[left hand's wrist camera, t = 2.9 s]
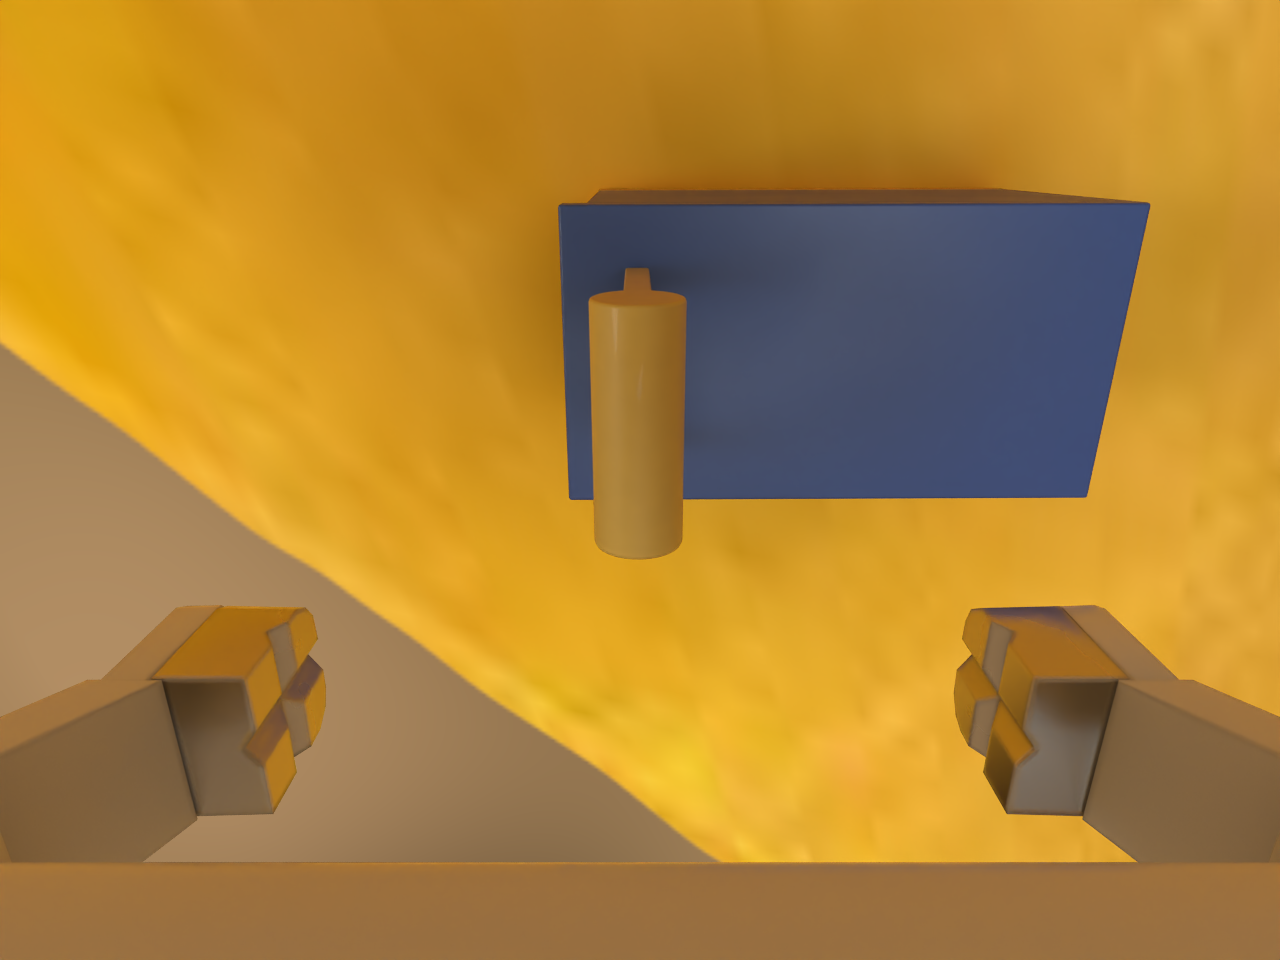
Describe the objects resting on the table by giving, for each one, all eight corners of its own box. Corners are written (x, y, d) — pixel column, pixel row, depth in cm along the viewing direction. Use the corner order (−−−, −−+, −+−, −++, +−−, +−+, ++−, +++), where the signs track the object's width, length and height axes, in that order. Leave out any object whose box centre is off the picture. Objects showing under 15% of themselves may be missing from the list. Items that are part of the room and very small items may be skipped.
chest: (603, 404, 37) (593, 490, 28) (599, 189, 34) (585, 202, 24) (961, 403, 37) (1074, 488, 28) (993, 188, 34) (1135, 200, 24)
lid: (571, 491, 27) (545, 620, 20) (560, 202, 24) (525, 225, 16) (1075, 489, 28) (1244, 617, 20) (1136, 201, 24) (1368, 222, 16)
